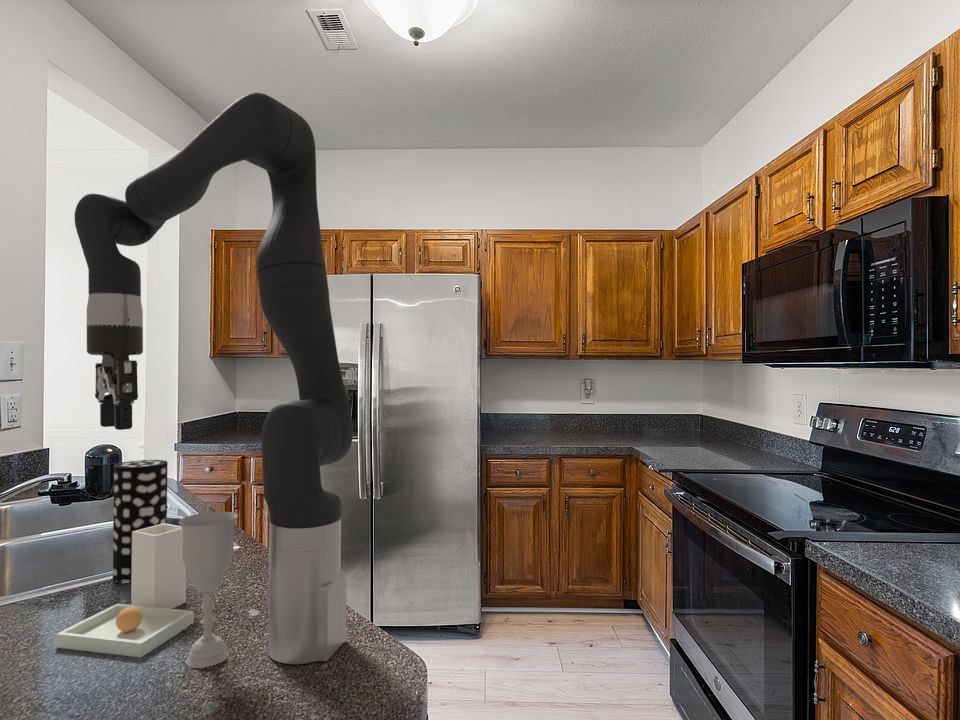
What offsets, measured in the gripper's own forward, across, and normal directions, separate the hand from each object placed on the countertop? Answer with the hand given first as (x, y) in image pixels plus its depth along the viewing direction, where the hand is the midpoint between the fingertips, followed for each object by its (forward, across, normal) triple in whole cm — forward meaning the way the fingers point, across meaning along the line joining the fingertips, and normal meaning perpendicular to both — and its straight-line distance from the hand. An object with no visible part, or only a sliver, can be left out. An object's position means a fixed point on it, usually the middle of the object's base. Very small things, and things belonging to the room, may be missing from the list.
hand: (115, 427), depth 92 cm
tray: (+28, -12, +1) cm, 31 cm away
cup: (+28, -4, -5) cm, 29 cm away
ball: (+26, -12, +1) cm, 29 cm away
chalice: (+29, -26, -4) cm, 39 cm away
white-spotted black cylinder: (+28, +13, -7) cm, 31 cm away
